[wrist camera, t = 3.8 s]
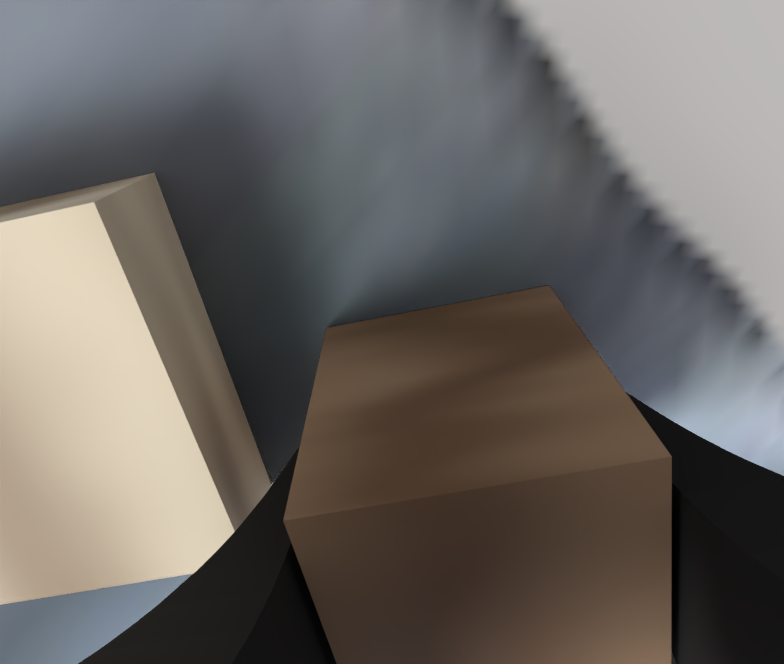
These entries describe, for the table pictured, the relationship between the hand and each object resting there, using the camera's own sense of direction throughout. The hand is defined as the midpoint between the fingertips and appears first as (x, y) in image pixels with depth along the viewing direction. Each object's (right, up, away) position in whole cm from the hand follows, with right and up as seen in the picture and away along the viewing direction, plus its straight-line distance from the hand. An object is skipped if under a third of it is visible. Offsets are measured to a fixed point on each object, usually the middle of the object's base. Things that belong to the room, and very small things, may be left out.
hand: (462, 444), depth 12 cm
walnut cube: (0, +1, +2) cm, 2 cm away
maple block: (-9, +1, +2) cm, 10 cm away
